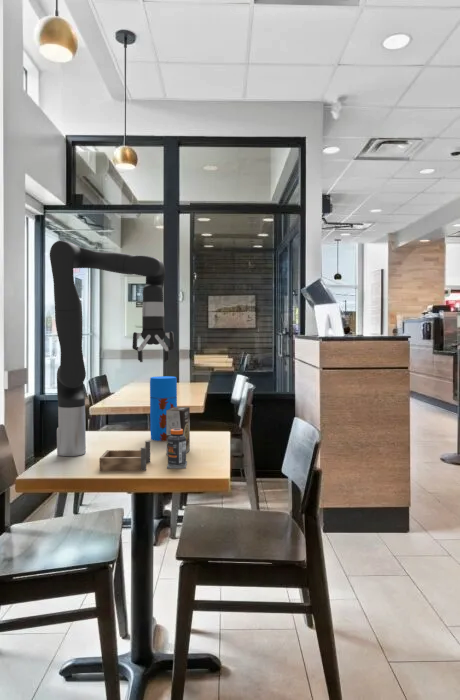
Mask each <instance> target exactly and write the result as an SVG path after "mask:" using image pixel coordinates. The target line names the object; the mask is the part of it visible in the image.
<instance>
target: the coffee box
mask: <svg viewBox="0 0 460 700" xmlns="http://www.w3.org/2000/svg"><path fill="white" fill-rule="evenodd" d="M190 412H191V410H190V407H189V406H177V407H173V408H171V409H169V410H166V435H167V436H166V437H167V441H165V442H166V444H165V445H166V449H165V450H166V453H165V454H166V456H168V437H169V436H170V435H171V429H183V435H184V436H185V437H186V454H187V453H188V452H190V450H191V447H190V446H191V445H190V444H191V442H190V441H191V434H190V431H191V430H190V429H191V428H190V426H191V423H190V422H191V421H190V414H191V413H190Z"/></svg>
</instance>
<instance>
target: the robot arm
mask: <svg viewBox="0 0 460 700" xmlns="http://www.w3.org/2000/svg"><path fill="white" fill-rule="evenodd" d="M49 260H50V267H51V272H52V279H53V280H52V281H53V298H54V299H53V300H54V301H53V302H54V320H55V321H54V322H55V329H56V334H57V339H58V342H59V347H60V363H59V364H60V365H59V366H58V368H57V371H56V390H57V391H56V394H57V396H56V397H57V403H58V404H57V407H58V408H57V409H58V410H57V411H58V414H57V415H58V416H57V417H58V419H57V420H58V427H57V428H56V455H57V456H61V457H78V456H81V455H82V456H83V455H84V454H86V452H87V450H86V449H87V446H86V443H87V442H86V441H87V440H86V439H87V437H86V397H85V392H84V391H85V389H84V382H85V380H86V377H87V375H86V374H87V371H86V366H85V361H84V353H83V308H82V307H83V306H82V302H81V298H80V296H79V295H80V294H79V292H78V290H77V288H76V287H77V286H76V283H75V279H74V278H75V277H74V269H93V270H94V269H96V270H101V271H107V272H109V273H115V274H122V275H136V276H142V277H145V285H144V286H143V288H142V307H141V308H142V309H141V314H142V315H141V318H142V319H141V320H142V321H141V322H142V323H141V324H142V331H141V332H137V331H135V332H133V333H132V346H131V347H132V349H133V350H135V351H137V360H138V361H139V363H144V362H143V361H144V357H143V356H144V355H143V353H144V351H143V349H144V348H145V347H146V345H149V346H151V345H160V346H161V347H162V348H163V349H164V363H168V361H170V360H169V359H170V351H171V350H174V349H175V339H174V338H175V336H174V332H173V331H170V332H166V331H165V306H164V291H163V290H164V285H165V277H166V269H165V264H164V263H163V261H162V260H160V259H158V258H157V257H154V256H151V255H149V256H148V255H135V254H131V253H124V252H115V251H114V252H113V251H99V250H98V251H97V250H92V249H88V248H84V247H81V246H79V245H76V244H75V243H72V242H71V241H70V242H69V241H66V240H57V241H55V242H54V243H53V244H52V245H51V247H50V250H49ZM140 337H141V338H142V339H143V341H142V342H141V344H140V345H139V346H138V339H140ZM165 337H167V339H169V346H168V345H167V344H166V342H165V341H164V339H165Z"/></svg>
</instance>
